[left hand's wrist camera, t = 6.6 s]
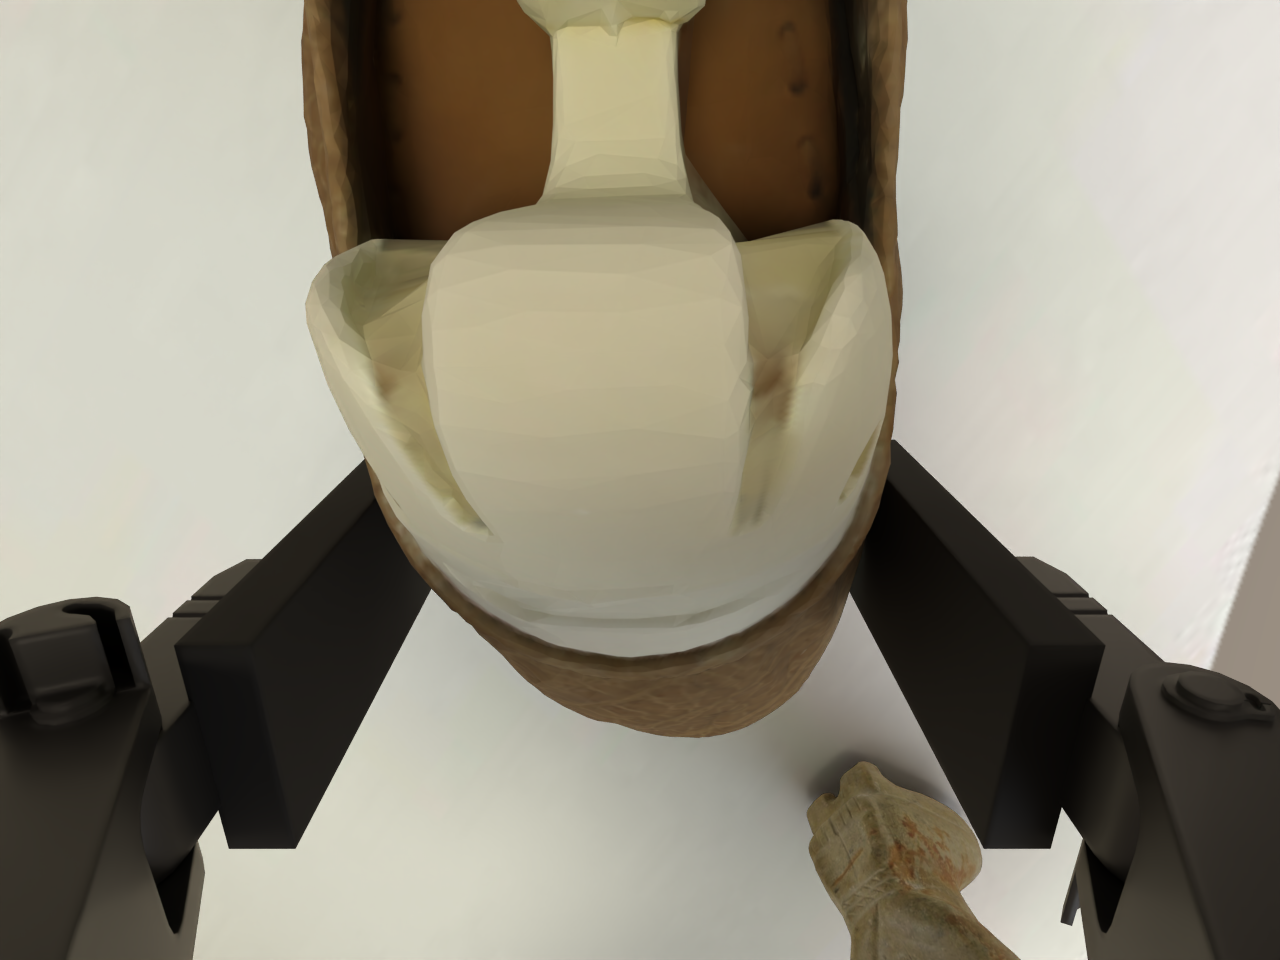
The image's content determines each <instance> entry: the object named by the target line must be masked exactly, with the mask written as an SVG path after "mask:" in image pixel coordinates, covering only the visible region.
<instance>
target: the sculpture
mask: <svg viewBox="0 0 1280 960" xmlns="http://www.w3.org/2000/svg"><path fill="white" fill-rule="evenodd" d="M807 818H808V821H809V824H810V827H811V829H812V832H813V835H814V836H813V837H812V839H811V841H810V844H809V853H810V856H811V858H812V860H813V862H814V865H815V869H816V871H817V873H818V875H819V877H820V879H821V881H822V883H823V885H824V887H825V889H826V891H827V892H828V894H829V896H830V898H831V899H832V901H833V902H834V904H835V905H836V907H837V908H838V910H839V911H840V913H841V914H842V916H843V918H844V920H845V922H846V925H847V927H848V930H849V932H850V935H851V956H850V960H1020V959H1019V958H1018V957H1017V956H1016V955H1015V954H1014V953H1013V952H1012V951H1011V950H1010V949H1009V948H1007V947H1006V946H1005V945H1004V944H1003V943H1002V942H1000V941H999V940H998V939H997V938H996V937H995V936H994V935H993V934H992V933H991V932H990V931H989V930H987V929H986V928H985V927H984V926H983V925H982V924H981V923H979V922H978V920H977V919H976V917H975V916H974V914H973V913H972V911H971V910H970V908H969V907H968V905H967V904H966V902H965V900H964V899H963V897H962V895H961V893H960V891H961V890H962V889H964V888H965V887H966V886H967V885H968V884H970V883H971V882H972V881H973V880H974V879H975V878H976V876H977V875H978V874H979V872H980V870H981V866H982V855H981V851H980V847H979V844H978V841H977V839H976V837H975V835H974V833H973V832H972V830H971V829H970V827H969V826H968V825H967V824H966V822H965V821H964V820H963V819H962V818H961V817H960V816H959V815H958V814H957V813H955V812H954V811H953V810H951V809H950V808H948V807H947V806H945V805H943V804H942V803H940V802H938V801H936V800H934V799H932V798H930V797H928V796H925V795H923V794H921V793H918V792H914V791H910V790H907V789H904V788H902V787H899V786H896V785H895V784H893V783H892V782H890V781H889V780H888V779H886V778H885V777H884V776H883V775H882V774H881V773H880V771H879V769H878V768H877V767H876V766H875V765H873V764H871V763H869V762H866V761H861V762H858V763H857V764H856V765H855V766H854V767H852V768H851V769H850V770H848V771H847V772H846V773H845V774H844V775H843V776H842V777H841V779H840V791H839V795H838V797H836V796H835V795H834V794H832V793H824V794H822V795H821V796H820V797H818V798H817V799H816V800H815V801H814V802H813V804H812V805H811V806H810V807H809V808H808V811H807Z"/></svg>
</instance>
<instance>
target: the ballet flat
mask: <svg viewBox="0 0 1280 960" xmlns="http://www.w3.org/2000/svg"><path fill="white" fill-rule="evenodd" d="M907 41H908V31H907V0H304V14H303V33H302V40H301V46H302V74H303V99H304V119H305V123H306V127H307V135H308V147H309V154H310V160H311V166H312V170H313V174H314V178H315V181H316V185H317V189H318V193H319V197H320V200H321V203H322V206H323V210H324V216H325V221H326V227H327V231H328V235H329V243H330V250H331V254H332V259H331V260H330V261H328V262H327V263H326V264H324V266H323V267H322V268H321V270H320V271H319V273H318V274H317V276H316V277H315V278H314V280H313V281H312V284H311V287H310V290H309V294H308V297H307V300H306V303H305V305H306V318H307V325H308V328H309V331H310V334H311V337H312V340H313V343H314V346H315V349H316V352H317V355H318V358H319V361H320V364H321V366H322V369H323V372H324V375H325V378H326V381H327V384H328V386H329V388H330V391H331V393H332V395H333V397H334V399H335V401H336V403H337V405H338V407H339V410H340V412H341V414H342V416H343V418H344V420H345V422H346V424H347V426H348V429H349V430H350V432H351V434H352V435H353V437H354V439H355V441H356V442H357V444H358V446H359V448H360V449H361V451H362V453H363V455H364V458H365V462H366V465H367V468H368V472H369V475H370V478H371V482H372V487H373V491H374V495H375V498H376V500H377V502H378V504H379V506H380V508H381V510H382V513H383V515H384V517H385V519H386V522H387V524H388V526H389V528H390V529H391V531H392V533H393V535H394V536H395V538H396V540H397V542H398V543H399V545H400V547H401V549H402V550H403V552H404V554H405V555H406V557H407V559H408V560H409V562H410V564H411V565H412V566H413V567H414V569H415V570H416V571H417V572H418V573H419V574H420V576H421V577H422V578H423V579H424V580H425V582H426V583H427V584H428V585H429V586H430V587H431V589H432V590H433V591H434V592H435V593H436V594H437V595H438V596H439V597H440V598H441V599H442V600H443V601H444V602H445V603H446V604H447V605H448V606H449V608H450V609H451V610H453V611H455V612H457V613H458V614H459V615H460V616H461V617H462V618H463V619H464V620H465V621H466V622H467V623H469V624H470V625H472V626H473V627H474V629H475V630H476V631H477V632H478V634H479V635H480V636H482V637H483V638H484V639H485V640H486V641H487V642H489V643H490V644H491V645H492V646H493V647H494V648H495V649H496V650H498V651H499V652H500V653H501V654H502V655H503V656H504V657H505V658H506V660H507V661H508V662H509V663H510V664H511V665H512V666H513V667H514V668H515V670H516V671H517V672H518V673H519V674H520V675H521V676H523V677H524V678H525V679H526V680H527V681H528V682H529V683H530V684H532V685H533V686H535V687H536V688H537V689H538V690H540V691H541V692H542V693H543V694H544V695H546V696H547V697H549V698H551V699H552V700H554V701H556V702H557V703H559V704H561V705H562V706H564V707H566V708H568V709H571V710H573V711H575V712H577V713H579V714H581V715H583V716H585V717H588V718H591V719H594V720H597V721H603V722H610V723H616V724H619V725H622V726H625V727H628V728H631V729H634V730H637V731H642V732H646V733H651V734H655V735H661V736H669V737H694V738H700V737H711V736H715V735H722V734H726V733H729V732H733V731H736V730H739V729H742V728H744V727H747V726H749V725H751V724H753V723H755V722H756V721H758V720H760V719H762V718H763V717H765V716H767V715H768V714H770V713H771V712H773V711H774V710H776V709H777V708H778V707H780V706H781V705H783V704H784V703H785V702H786V701H787V700H788V699H790V698H791V697H792V696H793V695H794V694H795V693H796V692H798V691H799V689H800V688H801V686H802V685H803V683H804V682H805V681H806V680H807V679H808V677H809V675H810V673H811V671H812V670H813V669H814V667H815V666H816V664H817V663H818V661H819V660H820V658H821V656H822V654H823V653H824V651H825V649H826V647H827V645H828V643H829V642H830V640H831V638H832V636H833V633H834V631H835V629H836V627H837V625H838V622H839V620H840V617H841V614H842V612H843V609H844V606H845V603H846V600H847V597H848V594H849V591H850V588H851V585H852V582H853V579H854V576H855V573H856V570H857V567H858V564H859V561H860V558H861V554H862V551H863V547H864V543H865V539H866V535H867V533H868V532H869V530H870V528H871V525H872V523H873V521H874V518H875V516H876V513H877V511H878V508H879V505H880V500H881V496H882V492H883V489H884V485H885V481H886V478H887V474H888V470H889V467H890V464H891V451H890V443H891V437H892V432H893V425H894V414H895V404H896V395H897V392H896V385H895V377H896V372H897V368H898V364H899V359H898V347H899V342H900V319H901V312H902V300H903V288H902V275H901V265H900V258H899V251H898V243H897V236H898V230H897V210H896V170H897V162H898V148H899V128H900V107H901V103H902V98H903V92H904V78H905V62H906V48H907Z"/></svg>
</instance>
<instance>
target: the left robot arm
mask: <svg viewBox="0 0 1280 960" xmlns="http://www.w3.org/2000/svg"><path fill="white" fill-rule="evenodd" d="M890 451H891V464H890V467H889V470H888V474H887V478H886V481H885V485H884V489H883V492H882V496H881V500H880V505H879V508H878V511H877V513H876V516H875V518H874V521H873V523H872V525H871V528H870V530H869V532H868V533H867V535H866V539H865V543H864V547H863V551H862V554H861V558H860V561H859V564H858V567H857V570H856V573H855V576H854V579H853V582H852V585H851V588H850V591H849V592H850V593H851V595H852V597H853V599H854V601H855V603H856V605H857V607H858V609H859V611H860V613H861V615H862V616H863V618H864V620H865V622H866V624H867V626H868V628H869V630H870V632H871V634H872V636H873V637H874V639H875V641H876V643H877V645H878V647H879V649H880V651H881V653H882V655H883V657H884V659H885V660H886V662H887V664H888V666H889V668H890V670H891V672H892V674H893V676H894V678H895V680H896V681H897V683H898V685H899V687H900V689H901V691H902V693H903V695H904V697H905V699H906V701H907V702H908V704H909V706H910V708H911V710H912V712H913V714H914V716H915V718H916V720H917V722H918V724H919V725H920V727H921V729H922V731H923V733H924V735H925V737H926V739H927V741H928V743H929V745H930V746H931V748H932V750H933V752H934V754H935V756H936V758H937V760H938V762H939V764H940V766H941V768H942V769H943V771H944V773H945V775H946V777H947V779H948V781H949V783H950V785H951V787H952V789H953V790H954V792H955V794H956V796H957V798H958V800H959V802H960V804H961V806H962V808H963V810H964V811H965V813H966V815H967V817H968V819H969V821H970V823H971V825H972V827H973V829H974V831H975V833H976V834H977V836H978V838H979V840H980V842H981V844H982V846H983V848H984V849H1051V845H1052V841H1053V837H1054V834H1055V830H1056V826H1057V823H1058V819H1059V815H1060V812H1061V808H1063V809H1064V811H1065V812H1066V814H1067V815H1068V817H1069V818H1070V820H1071V821H1072V823H1073V824H1074V826H1075V827H1076V828H1077V830H1078V831H1079V833H1080V834H1081V836H1082V837H1083V840H1082V843H1081V847H1080V850H1079V854H1078V857H1077V861H1076V864H1075V868H1074V871H1073V874H1072V878H1071V881H1070V885H1069V888H1068V892H1067V895H1066V898H1065V902H1064V905H1063V911H1062V917H1061V923H1064V924H1067V925H1071V926H1072V924H1073V921H1074V917H1075V914H1076V911H1077V909H1079V908H1081V915H1082V922H1083V929H1084V936H1085V943H1086V950H1087V956H1088V960H1280V709H1279V708H1278V707H1277V706H1276V705H1275V704H1274V703H1273V702H1272V701H1271V700H1269V699H1268V698H1266V697H1265V696H1263V695H1262V694H1260V693H1259V692H1257V691H1255V690H1254V689H1252V688H1251V687H1249V686H1247V685H1245V684H1243V683H1241V682H1239V681H1236V680H1234V679H1232V678H1229V677H1227V676H1225V675H1223V674H1220V673H1217V672H1213V671H1210V670H1206V669H1203V668H1199V667H1196V666H1192V665H1186V664H1177V663H1168V662H1164V661H1163V660H1162V659H1161V658H1160V657H1159V656H1158V655H1156V654H1155V653H1154V652H1153V651H1152V650H1151V649H1150V648H1149V647H1148V646H1146V645H1145V644H1144V643H1143V642H1142V641H1141V640H1140V639H1139V638H1137V637H1136V636H1135V635H1134V634H1133V633H1132V632H1131V631H1130V630H1129V629H1127V628H1126V627H1125V626H1124V625H1123V624H1122V623H1121V622H1120V621H1119V620H1117V619H1116V618H1115V617H1114V616H1113V615H1108V614H1107V610H1106V609H1105V608H1104V607H1103V606H1102V605H1101V604H1100V603H1098V602H1097V601H1096V600H1095V599H1094V598H1089V594H1088V593H1087V592H1086V591H1085V590H1084V589H1083V588H1082V587H1081V586H1080V585H1078V584H1077V583H1076V582H1075V581H1074V580H1073V579H1072V578H1071V577H1069V576H1068V575H1067V574H1066V573H1064V572H1062V571H1060V570H1058V569H1056V568H1054V567H1052V566H1050V565H1048V564H1047V563H1045V562H1043V561H1041V560H1039V559H1037V558H1035V557H1015V556H1014V555H1013V554H1012V553H1011V552H1009V551H1008V550H1007V549H1006V548H1005V547H1004V546H1003V545H1002V544H1001V543H1000V542H999V541H998V540H997V539H996V538H995V537H994V536H993V535H992V534H991V533H990V532H989V531H988V530H987V529H986V528H985V527H984V526H983V525H982V524H981V523H980V522H979V521H978V520H977V519H976V518H975V517H974V516H973V515H972V514H971V513H969V512H968V511H967V510H966V509H965V508H964V507H963V506H962V505H961V504H960V503H959V502H958V501H957V500H956V499H955V498H954V497H953V496H952V495H951V494H950V493H949V492H948V491H947V490H946V489H945V488H944V487H943V486H942V485H941V484H940V483H939V482H938V481H937V480H936V479H935V478H934V477H933V476H932V475H931V474H930V473H928V472H927V471H926V470H925V469H924V468H923V467H922V466H921V465H920V464H919V463H918V462H917V461H916V460H915V459H914V458H913V457H912V456H911V455H910V454H909V453H908V452H907V451H906V450H905V449H904V448H903V447H902V446H901V445H900V444H899V443H898V442H897V441H896V440H891V443H890ZM430 591H431V587H430V586H429V585H428V584H427V583H426V582H425V580H424V579H423V578H422V577H421V576H420V574H419V573H418V572H417V571H416V570H415V569H414V567H413V566H412V565H411V564H410V562H409V560H408V559H407V557H406V555H405V554H404V552H403V550H402V549H401V547H400V545H399V543H398V542H397V540H396V538H395V536H394V535H393V533H392V531H391V529H390V528H389V526H388V524H387V522H386V519H385V517H384V515H383V513H382V510H381V508H380V506H379V504H378V502H377V500H376V498H375V495H374V491H373V487H372V482H371V478H370V475H369V472H368V468H367V465H366V462H365V459H364V460H363V461H362V462H361V463H360V464H359V465H358V466H357V467H356V468H355V469H354V470H353V471H352V472H351V473H350V474H349V475H348V476H347V477H346V478H345V479H344V480H343V481H342V482H341V483H340V484H339V485H338V486H337V487H336V488H335V489H333V490H332V491H331V492H330V493H329V494H328V495H327V496H326V497H325V498H324V499H323V500H322V501H321V502H320V503H319V504H318V505H317V506H316V507H315V508H314V509H313V510H312V511H311V512H310V513H309V514H308V515H307V516H306V517H305V518H304V519H303V520H302V521H301V522H300V523H299V524H298V525H297V526H296V527H295V528H293V529H292V530H291V531H290V532H289V533H288V534H287V535H286V536H285V537H284V538H283V539H282V540H281V541H280V542H279V543H278V544H277V545H276V546H275V547H274V548H273V549H272V550H271V551H270V552H269V553H268V554H267V555H266V556H265V557H264V558H263V559H246V560H244V561H242V562H240V563H238V564H236V565H235V566H233V567H231V568H229V569H227V570H225V571H223V572H221V573H219V574H217V575H215V576H213V577H212V578H211V579H210V580H209V581H208V582H207V583H206V584H205V585H203V586H202V587H201V588H200V589H199V590H198V591H197V592H196V593H195V594H194V595H192V596H191V598H192V599H191V600H187V601H186V602H185V603H184V604H182V605H181V606H180V607H179V608H178V609H177V610H176V611H175V612H174V613H173V617H172V618H167V619H166V620H165V621H164V622H163V623H161V624H160V625H159V626H158V627H157V628H156V629H155V630H154V631H153V632H152V633H150V634H149V635H148V636H147V637H146V638H145V639H144V640H143V641H142V642H140V641H139V637H138V634H137V630H136V627H135V623H134V620H133V617H132V613H131V610H130V606H128V605H126V604H125V603H123V602H121V601H120V600H118V599H111V598H102V597H90V598H79V599H69V600H64V601H60V602H56V603H52V604H47V605H43V606H39V607H36V608H33V609H31V610H28V611H25V612H22V613H20V614H17V615H14V616H12V617H9V618H7V619H5V620H3V621H1V622H0V960H192V959H193V952H194V945H195V938H196V931H197V924H198V917H199V910H200V903H201V897H202V890H203V883H204V876H205V870H204V863H203V857H202V854H201V850H200V847H199V843H198V839H199V838H200V836H201V835H202V833H203V832H204V830H205V829H206V827H207V826H208V824H209V823H210V821H211V820H212V818H213V817H214V816H215V814H216V813H217V811H218V810H219V814H220V818H221V821H222V825H223V829H224V832H225V836H226V840H227V843H228V847H229V849H296V847H297V845H298V843H299V841H300V839H301V837H302V835H303V833H304V831H305V830H306V828H307V826H308V824H309V822H310V820H311V818H312V816H313V814H314V812H315V810H316V809H317V807H318V805H319V803H320V801H321V799H322V797H323V795H324V793H325V791H326V789H327V787H328V786H329V784H330V782H331V780H332V778H333V776H334V774H335V772H336V770H337V768H338V766H339V765H340V763H341V761H342V759H343V757H344V755H345V753H346V751H347V749H348V747H349V745H350V743H351V742H352V740H353V738H354V736H355V734H356V732H357V730H358V728H359V726H360V724H361V722H362V721H363V719H364V717H365V715H366V713H367V711H368V709H369V707H370V705H371V703H372V701H373V700H374V698H375V696H376V694H377V692H378V690H379V688H380V686H381V684H382V682H383V680H384V678H385V677H386V675H387V673H388V671H389V669H390V667H391V665H392V663H393V661H394V659H395V657H396V656H397V654H398V652H399V650H400V648H401V646H402V644H403V642H404V640H405V638H406V636H407V635H408V633H409V631H410V629H411V627H412V625H413V623H414V621H415V619H416V617H417V615H418V613H419V612H420V610H421V608H422V606H423V604H424V602H425V600H426V598H427V596H428V594H429V592H430Z"/></svg>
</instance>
